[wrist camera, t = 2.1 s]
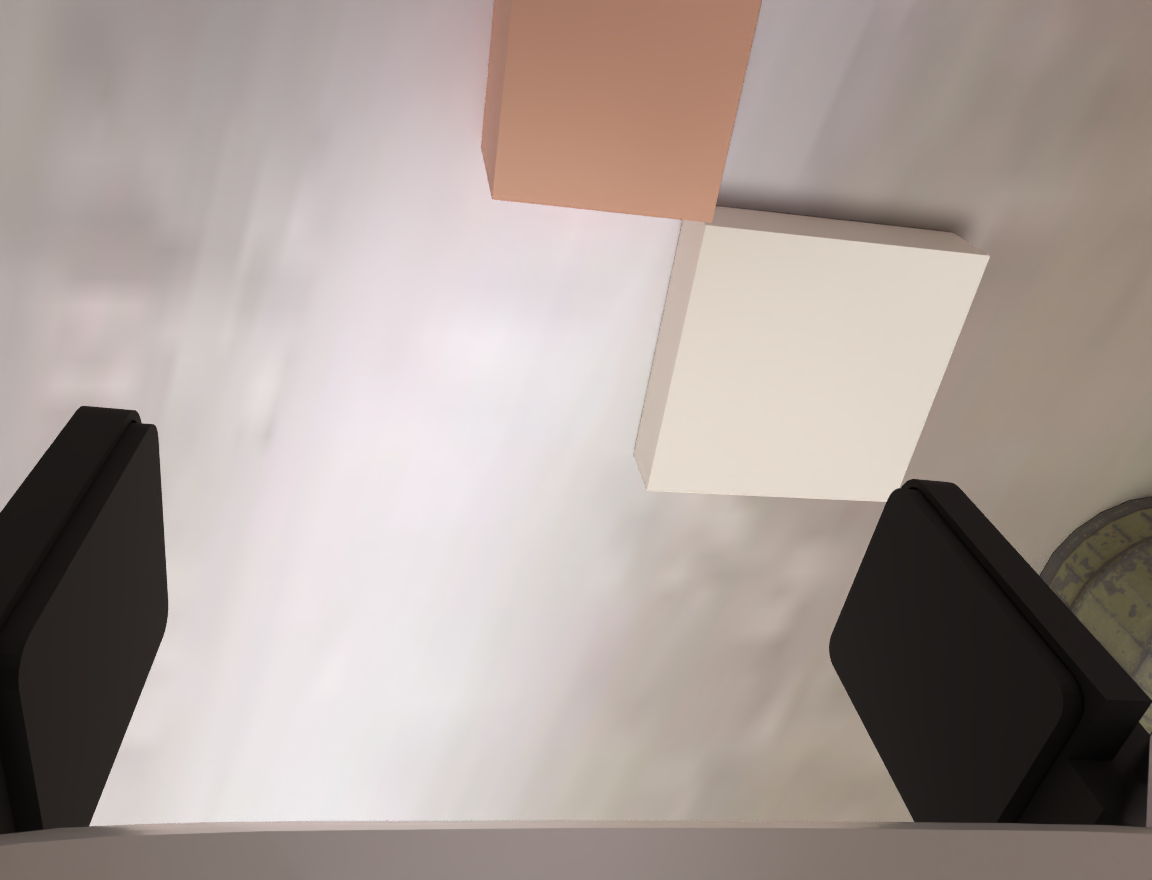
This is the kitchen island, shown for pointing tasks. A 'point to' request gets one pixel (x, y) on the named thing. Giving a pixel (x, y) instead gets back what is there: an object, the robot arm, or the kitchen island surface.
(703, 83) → the cube
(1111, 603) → the thermos
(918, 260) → the block
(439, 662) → the kitchen island surface
